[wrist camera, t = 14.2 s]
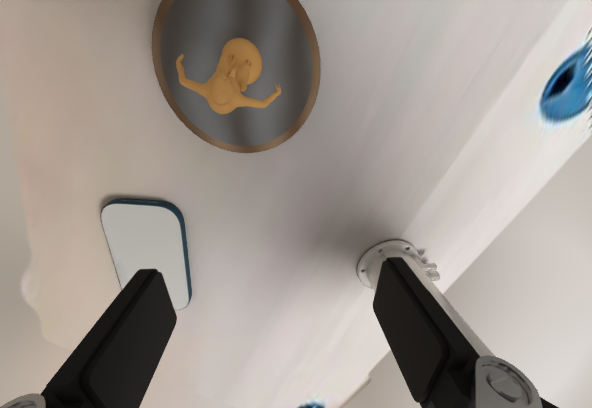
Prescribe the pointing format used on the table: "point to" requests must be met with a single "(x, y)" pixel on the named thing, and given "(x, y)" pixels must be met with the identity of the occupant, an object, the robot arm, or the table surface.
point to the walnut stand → (275, 70)
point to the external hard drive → (149, 243)
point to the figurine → (231, 78)
